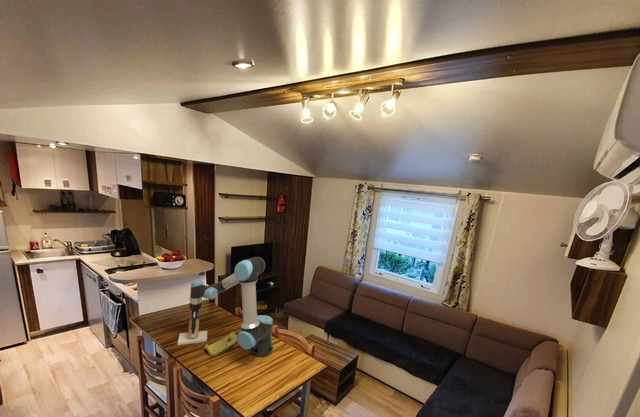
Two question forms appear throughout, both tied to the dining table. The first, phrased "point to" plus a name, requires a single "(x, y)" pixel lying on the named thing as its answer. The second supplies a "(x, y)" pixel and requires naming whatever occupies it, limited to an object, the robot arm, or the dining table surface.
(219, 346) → the plastic component
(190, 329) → the jaw
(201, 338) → the white board with peg
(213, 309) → the dining table surface
